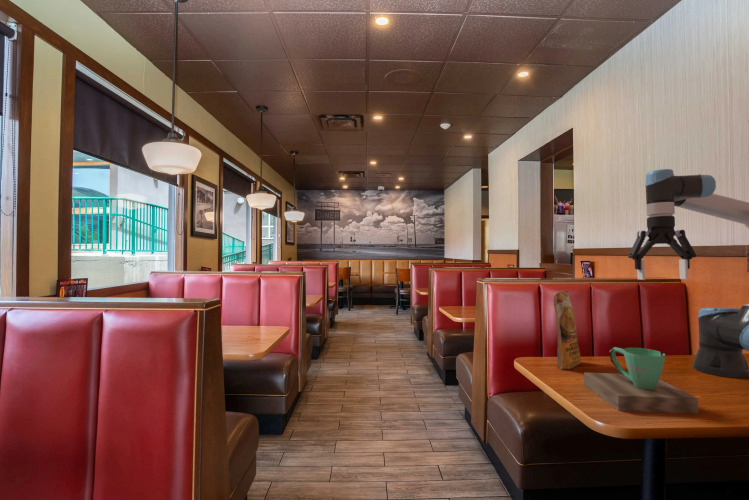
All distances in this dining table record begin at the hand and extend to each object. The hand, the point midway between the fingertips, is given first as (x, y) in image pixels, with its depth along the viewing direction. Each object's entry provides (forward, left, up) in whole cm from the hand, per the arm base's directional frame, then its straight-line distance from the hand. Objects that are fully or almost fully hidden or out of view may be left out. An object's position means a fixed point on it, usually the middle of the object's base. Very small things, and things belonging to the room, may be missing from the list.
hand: (662, 279), depth 125 cm
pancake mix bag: (+24, -16, -34) cm, 45 cm away
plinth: (+18, +17, -34) cm, 42 cm away
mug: (+18, +17, -30) cm, 39 cm away
